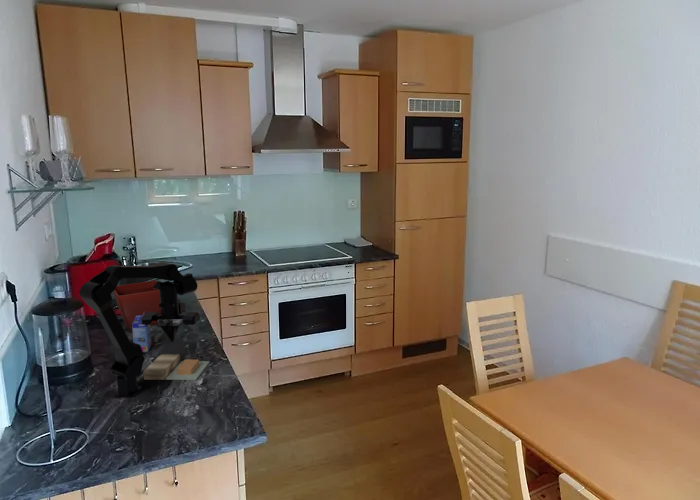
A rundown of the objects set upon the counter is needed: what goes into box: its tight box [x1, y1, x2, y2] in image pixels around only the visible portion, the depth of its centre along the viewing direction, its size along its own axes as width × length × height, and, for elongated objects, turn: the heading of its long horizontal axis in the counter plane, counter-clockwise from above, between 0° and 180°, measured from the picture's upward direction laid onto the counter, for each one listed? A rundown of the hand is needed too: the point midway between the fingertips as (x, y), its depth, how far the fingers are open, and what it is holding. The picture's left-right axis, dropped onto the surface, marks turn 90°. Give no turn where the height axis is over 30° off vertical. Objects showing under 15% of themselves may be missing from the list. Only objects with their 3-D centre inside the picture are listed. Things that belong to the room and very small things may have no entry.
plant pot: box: [112, 280, 162, 330], centre depth 220 cm, size 19×19×17 cm
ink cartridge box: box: [132, 312, 152, 353], centre depth 192 cm, size 10×6×14 cm, turn 15°
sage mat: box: [165, 360, 210, 381], centre depth 173 cm, size 14×10×1 cm
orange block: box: [177, 359, 200, 375], centre depth 173 cm, size 8×5×2 cm, turn 178°
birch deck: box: [143, 353, 181, 381], centre depth 173 cm, size 14×7×3 cm, turn 177°
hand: (173, 341), depth 171 cm, fingers closed
